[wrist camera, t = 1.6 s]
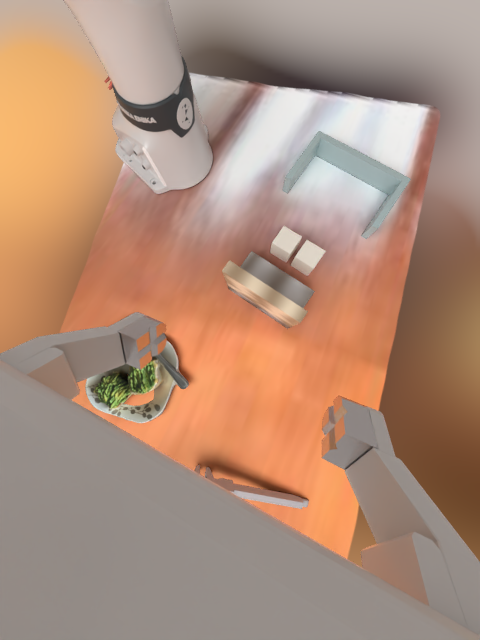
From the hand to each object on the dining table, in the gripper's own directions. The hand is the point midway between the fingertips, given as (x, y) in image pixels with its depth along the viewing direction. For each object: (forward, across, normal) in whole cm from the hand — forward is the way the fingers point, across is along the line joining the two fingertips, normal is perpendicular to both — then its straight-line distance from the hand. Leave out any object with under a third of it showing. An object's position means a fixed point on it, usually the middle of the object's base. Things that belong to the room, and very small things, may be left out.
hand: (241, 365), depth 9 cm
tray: (+47, -3, -10) cm, 48 cm away
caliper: (+9, -6, +36) cm, 38 cm away
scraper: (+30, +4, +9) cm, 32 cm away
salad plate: (+13, +23, +27) cm, 38 cm away
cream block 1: (+36, +4, +2) cm, 36 cm away
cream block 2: (+36, -1, +3) cm, 36 cm away
